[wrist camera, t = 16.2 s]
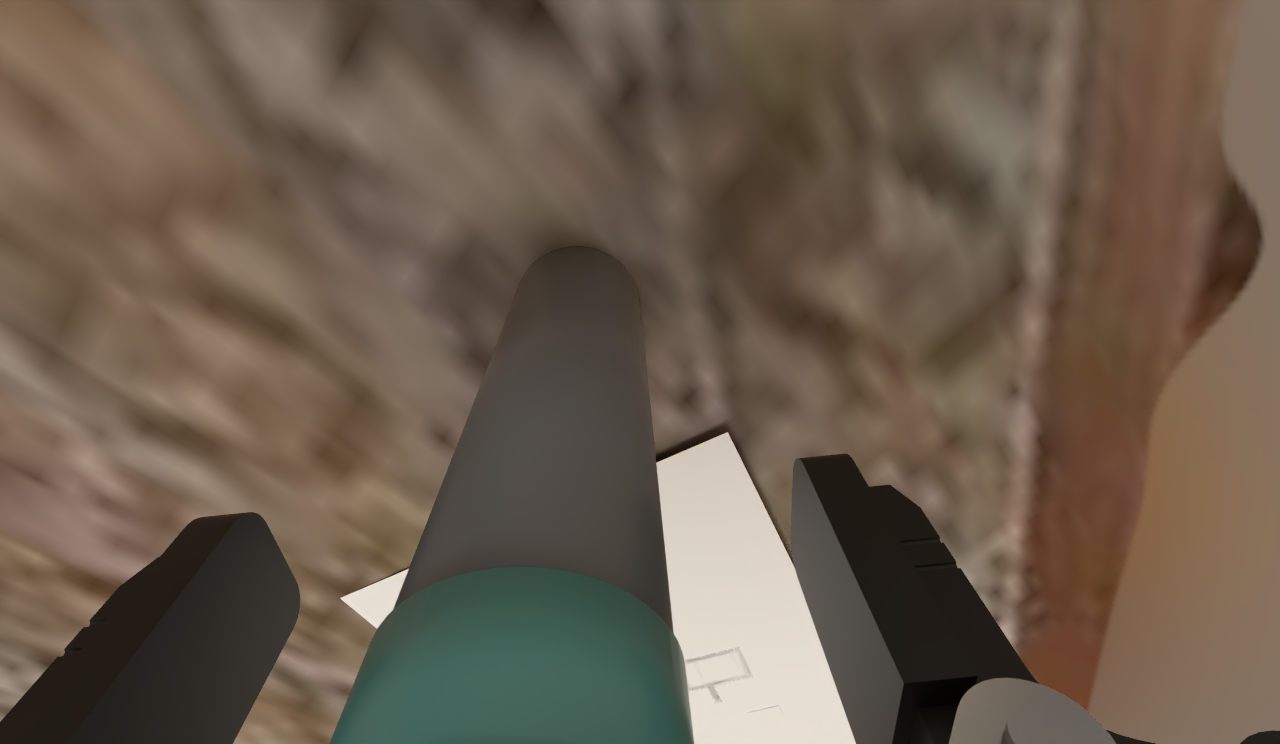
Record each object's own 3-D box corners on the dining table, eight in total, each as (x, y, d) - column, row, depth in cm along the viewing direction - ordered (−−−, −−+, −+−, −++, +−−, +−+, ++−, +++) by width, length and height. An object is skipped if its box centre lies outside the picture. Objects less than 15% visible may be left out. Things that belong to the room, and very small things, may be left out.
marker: (501, 249, 17) (226, 758, 5) (637, 236, 17) (696, 714, 5) (526, 369, 19) (368, 957, 7) (648, 357, 19) (712, 926, 7)
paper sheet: (892, 771, 31) (900, 794, 30) (394, 872, 36) (388, 895, 35) (773, 402, 20) (780, 420, 19) (83, 619, 25) (61, 643, 24)
